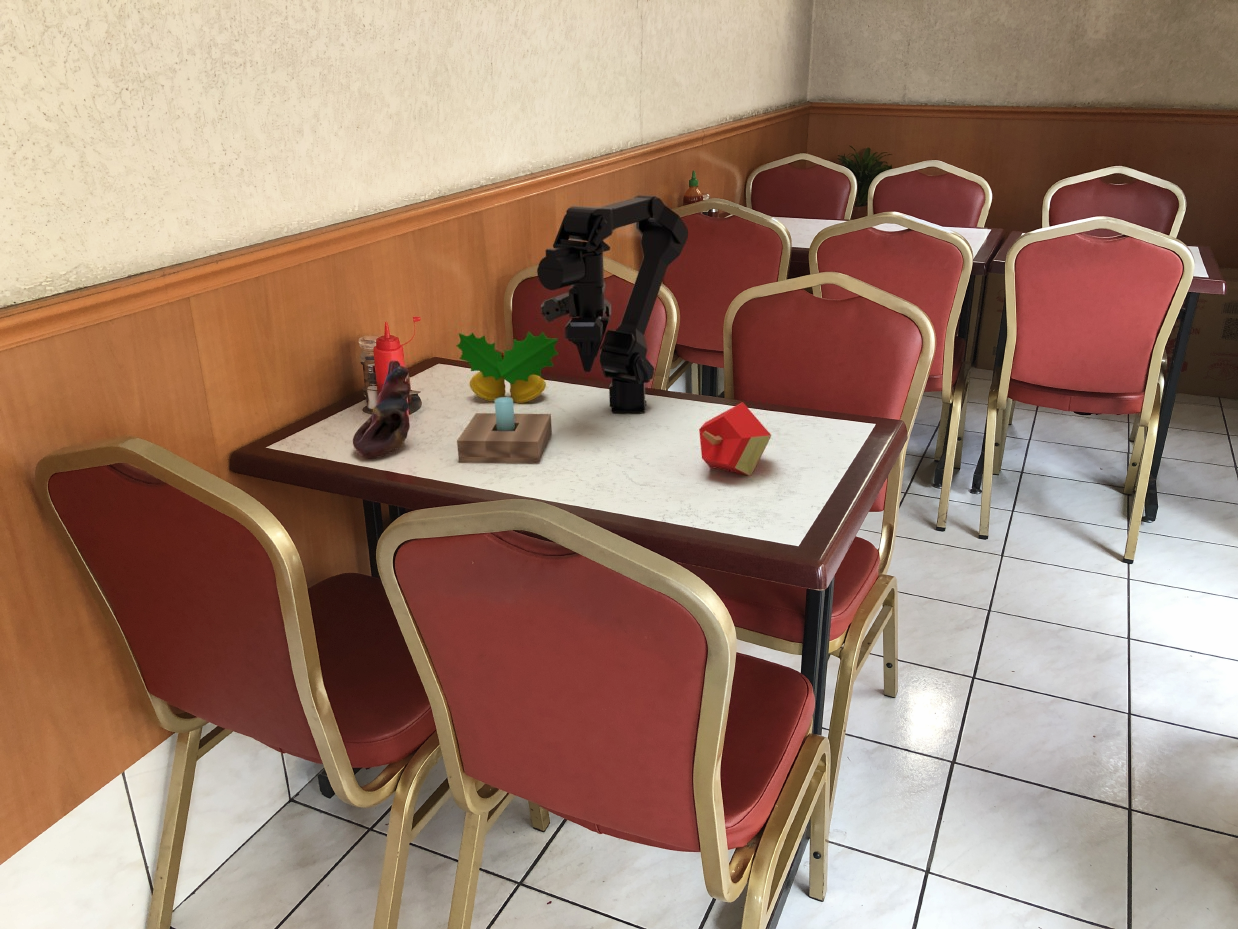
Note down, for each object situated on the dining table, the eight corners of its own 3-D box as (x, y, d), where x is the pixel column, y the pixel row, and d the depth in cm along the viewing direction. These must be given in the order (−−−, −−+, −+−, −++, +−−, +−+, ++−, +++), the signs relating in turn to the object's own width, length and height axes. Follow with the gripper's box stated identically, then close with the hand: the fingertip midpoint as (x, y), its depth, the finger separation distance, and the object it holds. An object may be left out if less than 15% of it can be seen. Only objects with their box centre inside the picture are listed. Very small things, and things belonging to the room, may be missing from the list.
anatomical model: (340, 452, 173) (329, 371, 167) (399, 432, 181) (390, 355, 175) (370, 465, 167) (359, 381, 161) (429, 444, 175) (421, 364, 169)
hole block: (551, 434, 178) (550, 413, 177) (538, 463, 166) (537, 441, 164) (477, 433, 180) (475, 413, 178) (458, 462, 167) (456, 440, 165)
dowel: (517, 439, 174) (514, 397, 170) (513, 445, 171) (510, 402, 168) (500, 439, 174) (496, 396, 171) (496, 445, 171) (492, 402, 168)
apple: (781, 477, 163) (744, 478, 150) (716, 468, 169) (676, 468, 156) (790, 407, 162) (753, 402, 149) (724, 400, 168) (684, 395, 156)
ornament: (567, 393, 201) (564, 322, 195) (561, 406, 193) (557, 333, 187) (469, 392, 203) (464, 322, 197) (459, 405, 195) (453, 332, 189)
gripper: (551, 269, 181) (555, 350, 187) (533, 291, 164) (538, 379, 170) (610, 269, 180) (612, 350, 186) (598, 291, 163) (601, 379, 169)
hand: (590, 364), depth 178 cm, fingers open, 9 cm apart
